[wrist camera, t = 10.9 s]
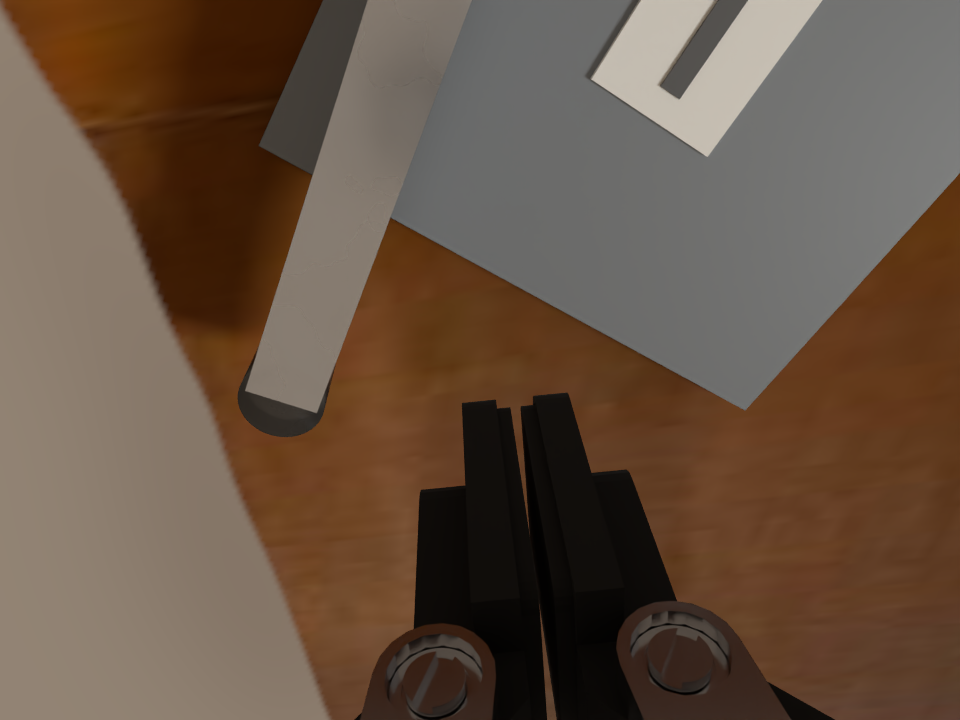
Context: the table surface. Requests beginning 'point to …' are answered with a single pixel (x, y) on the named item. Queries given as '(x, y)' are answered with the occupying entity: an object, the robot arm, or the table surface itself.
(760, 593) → the table surface
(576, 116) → the label board
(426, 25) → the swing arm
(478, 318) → the table surface
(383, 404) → the table surface
